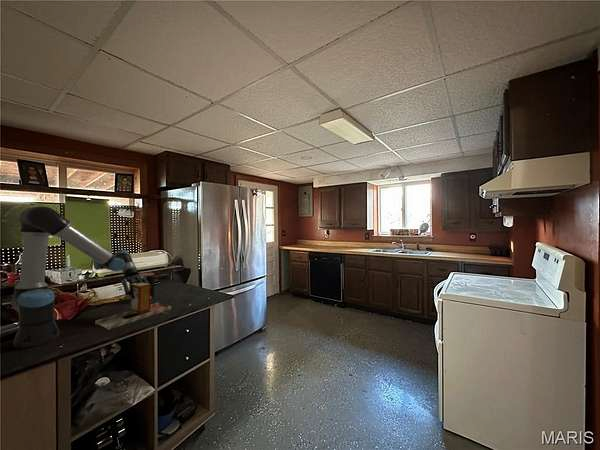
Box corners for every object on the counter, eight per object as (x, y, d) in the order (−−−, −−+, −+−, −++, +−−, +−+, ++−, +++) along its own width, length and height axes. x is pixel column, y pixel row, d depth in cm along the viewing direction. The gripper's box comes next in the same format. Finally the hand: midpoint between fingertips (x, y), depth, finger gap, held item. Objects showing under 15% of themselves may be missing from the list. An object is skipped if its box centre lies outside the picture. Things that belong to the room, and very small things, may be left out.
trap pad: (155, 313, 152) (155, 312, 152) (145, 310, 157) (145, 309, 157) (169, 308, 160) (169, 308, 160) (159, 305, 165) (159, 305, 165)
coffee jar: (149, 295, 189) (149, 272, 189) (157, 297, 184) (157, 273, 183) (134, 299, 180) (134, 274, 180) (142, 301, 174) (141, 276, 174)
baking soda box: (130, 310, 149) (130, 283, 149) (141, 307, 154) (142, 281, 154) (138, 312, 144) (139, 285, 144) (150, 309, 150) (150, 283, 150)
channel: (107, 329, 128) (107, 326, 128) (95, 324, 135) (95, 320, 135) (170, 309, 159) (170, 306, 159) (158, 305, 166) (158, 302, 166)
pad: (107, 328, 130) (107, 328, 130) (97, 324, 135) (97, 323, 135) (130, 321, 139) (130, 320, 139) (120, 317, 144) (120, 317, 144)
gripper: (143, 272, 165) (157, 300, 157) (109, 277, 148) (123, 309, 140) (148, 265, 163) (162, 293, 155) (114, 269, 146) (128, 301, 138)
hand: (143, 300), depth 147 cm, fingers closed on baking soda box, 6 cm apart
